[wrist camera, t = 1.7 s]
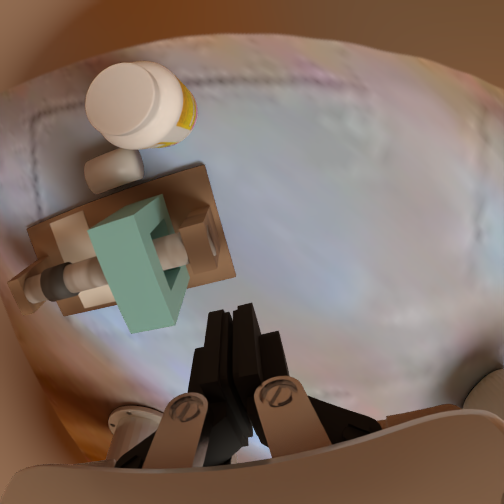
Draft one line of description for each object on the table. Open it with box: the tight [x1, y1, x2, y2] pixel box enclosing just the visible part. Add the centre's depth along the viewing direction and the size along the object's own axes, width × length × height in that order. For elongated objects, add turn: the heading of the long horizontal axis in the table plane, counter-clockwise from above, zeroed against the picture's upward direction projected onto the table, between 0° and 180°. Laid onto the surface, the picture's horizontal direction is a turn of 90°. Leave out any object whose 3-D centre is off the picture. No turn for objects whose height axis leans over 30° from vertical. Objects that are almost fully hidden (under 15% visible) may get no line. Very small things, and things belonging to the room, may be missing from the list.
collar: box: [87, 194, 190, 334], centre depth 26 cm, size 9×4×9 cm, turn 14°
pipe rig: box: [7, 165, 236, 316], centre depth 28 cm, size 12×23×8 cm, turn 104°
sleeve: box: [84, 148, 144, 194], centre depth 27 cm, size 4×5×4 cm
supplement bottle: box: [85, 61, 198, 150], centre depth 21 cm, size 7×7×13 cm
